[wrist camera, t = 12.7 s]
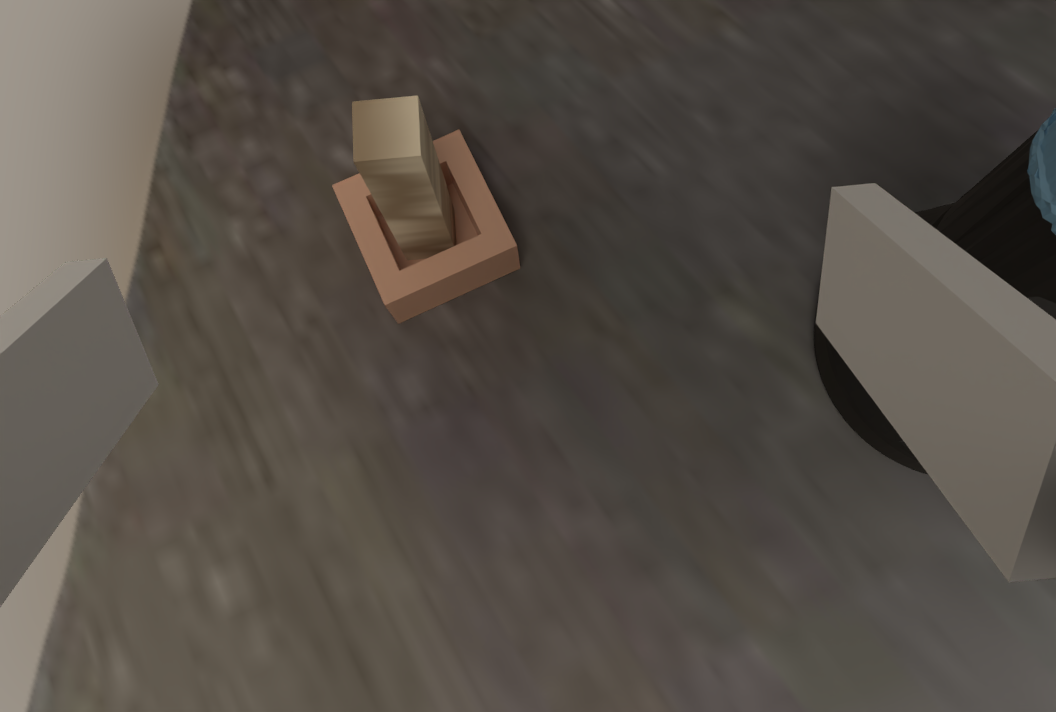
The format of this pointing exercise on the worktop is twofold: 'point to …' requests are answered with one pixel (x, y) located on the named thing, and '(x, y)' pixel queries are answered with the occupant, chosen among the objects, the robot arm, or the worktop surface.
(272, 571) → the worktop surface
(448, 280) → the orange-brown square frame
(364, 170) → the beige tall square post
